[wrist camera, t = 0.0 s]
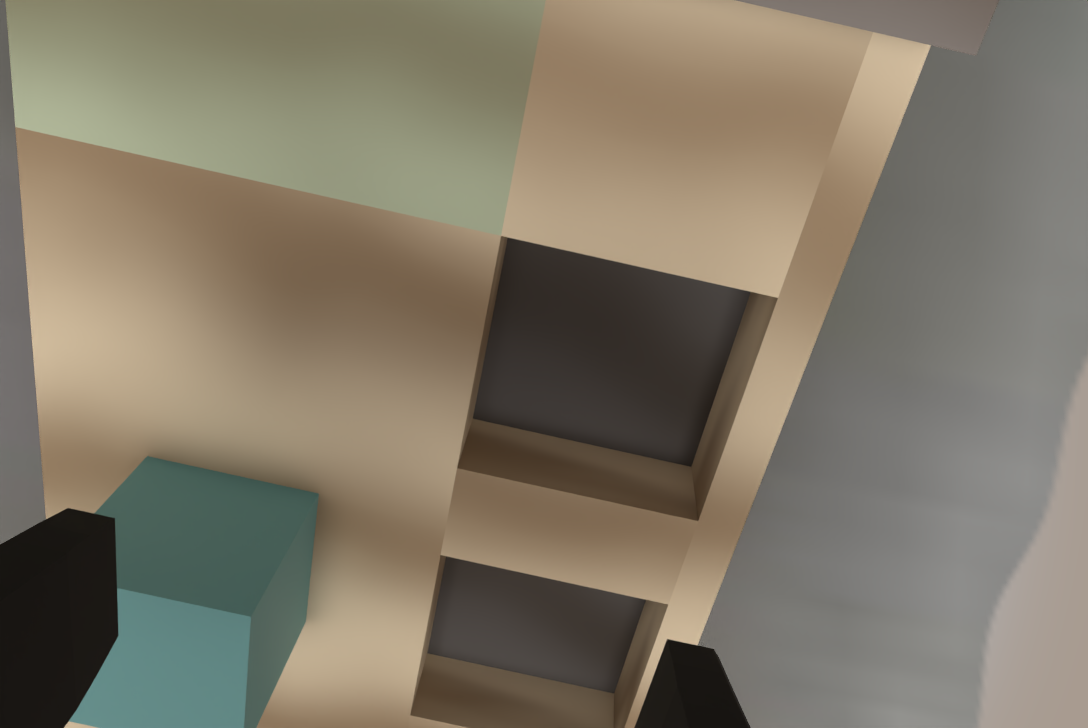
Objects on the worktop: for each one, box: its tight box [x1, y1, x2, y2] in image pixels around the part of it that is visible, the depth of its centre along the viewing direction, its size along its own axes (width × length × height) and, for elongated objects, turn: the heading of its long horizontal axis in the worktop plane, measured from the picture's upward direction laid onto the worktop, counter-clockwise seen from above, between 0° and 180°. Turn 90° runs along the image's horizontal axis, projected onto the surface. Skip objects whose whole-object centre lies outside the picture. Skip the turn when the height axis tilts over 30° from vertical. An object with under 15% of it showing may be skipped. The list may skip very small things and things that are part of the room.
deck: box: [6, 0, 999, 728], centre depth 19 cm, size 23×16×4 cm
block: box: [69, 456, 319, 728], centre depth 19 cm, size 4×4×4 cm
